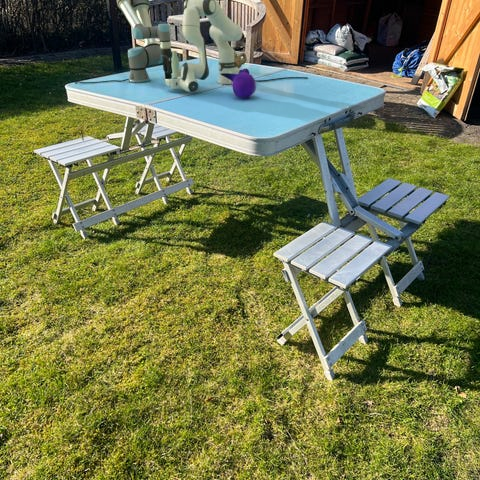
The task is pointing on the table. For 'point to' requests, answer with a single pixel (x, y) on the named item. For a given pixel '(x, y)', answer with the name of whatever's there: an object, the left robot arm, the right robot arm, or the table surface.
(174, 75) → the bottle
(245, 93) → the toy
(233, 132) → the table surface
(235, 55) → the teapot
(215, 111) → the table surface
